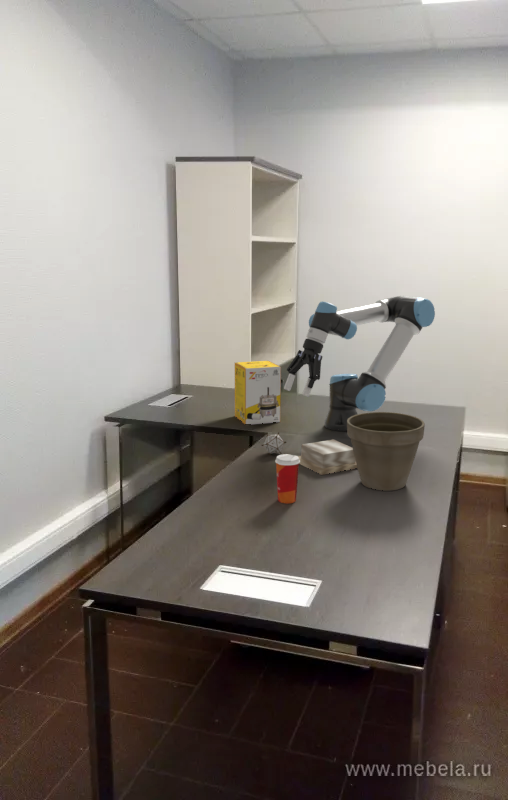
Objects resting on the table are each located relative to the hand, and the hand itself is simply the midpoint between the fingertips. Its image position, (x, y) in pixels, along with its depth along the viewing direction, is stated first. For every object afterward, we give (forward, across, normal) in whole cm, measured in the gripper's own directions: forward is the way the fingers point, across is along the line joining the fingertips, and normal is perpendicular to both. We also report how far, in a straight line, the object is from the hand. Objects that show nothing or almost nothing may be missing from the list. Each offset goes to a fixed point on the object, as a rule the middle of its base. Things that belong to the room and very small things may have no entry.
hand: (295, 392), depth 272 cm
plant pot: (+20, +50, +12) cm, 55 cm away
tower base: (+21, +24, +8) cm, 33 cm away
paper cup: (+34, +49, -21) cm, 63 cm away
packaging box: (+16, -45, +15) cm, 50 cm away
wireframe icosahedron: (+25, +4, -3) cm, 25 cm away
